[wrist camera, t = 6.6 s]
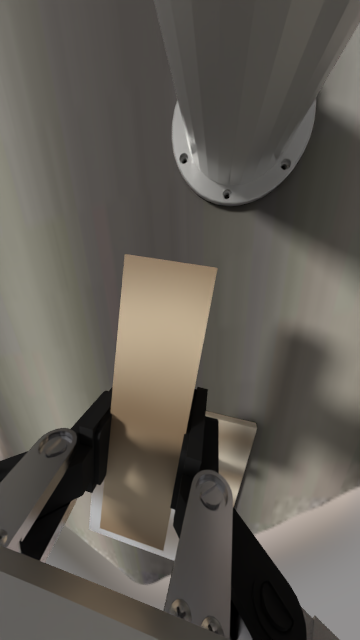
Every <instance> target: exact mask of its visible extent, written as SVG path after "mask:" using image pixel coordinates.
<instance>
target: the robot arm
mask: <svg viewBox="0 0 360 640" xmlns="http://www.w3.org/2000/svg"><path fill="white" fill-rule="evenodd" d="M154 3H155V7H156V11H157V15H158V20H159V24H160V28H161V32H162V36H163V41H164V45H165V49H166V53H167V58H168V62H169V66H170V70H171V74H172V79H173V83H174V87H175V91H176V95H177V103H176V106H175V109H174V115H173V121H172V145H173V152H174V156H175V159H176V162H177V166H178V168H179V170H180V173H181V175H182V177H183V178H184V180H185V181H186V183H187V184H188V186H189V187H190V188H191V189H192V190H193V191H194V192H195V193H196V194H197V195H199V196H200V197H202V198H203V199H205V200H206V201H209V202H212V203H214V204H217V205H224V206H237V205H243V204H247V203H251V202H253V201H256V200H258V199H260V198H262V197H264V196H265V195H267V194H268V193H270V192H271V191H272V190H274V189H275V188H276V187H277V186H278V185H279V184H280V183H281V182H282V181H283V180H284V179H285V178H286V177H287V176H288V175H289V174H290V172H291V171H292V170H293V169H294V167H295V166H296V164H297V163H298V161H299V159H300V158H301V156H302V155H303V153H304V151H305V148H306V146H307V144H308V141H309V139H310V136H311V132H312V129H313V125H314V121H315V111H316V96H317V95H318V93H319V91H320V90H321V88H322V86H323V84H324V83H325V81H326V79H327V78H328V76H329V74H330V72H331V71H332V69H333V67H334V66H335V64H336V62H337V61H338V59H339V57H340V55H341V54H342V52H343V50H344V49H345V47H346V45H347V43H348V42H349V40H350V38H351V37H352V35H353V33H354V31H355V30H356V28H357V26H358V25H359V23H360V0H154ZM185 160H186V161H187V162H186V163H185V164H183V162H184V161H185ZM282 166H284V167H285V170H283V169H282V168H281V167H282ZM225 195H229V198H228V199H225V198H224V196H225ZM112 390H113V387H112V388H111V389H110V391H104V392H103V393H102V394H101V395H100V396H99V398H98V399H97V400H96V401H95V402H94V403H93V404H92V405H91V407H90V408H89V409H88V410H87V411H86V412H85V413H84V414H83V416H82V417H81V418H80V419H79V420H78V421H77V422H76V423H75V425H74V426H73V427H72V428H71V429H68V428H60V429H55V430H52V431H50V432H48V433H46V434H45V435H43V436H42V437H41V438H40V439H39V440H38V441H37V442H36V443H35V444H34V445H33V446H32V448H31V449H30V450H29V451H27V452H24V453H22V454H19V455H16V456H13V457H10V458H8V459H5V460H2V461H0V640H339V639H338V638H337V637H336V636H335V635H334V634H333V633H332V632H331V631H330V630H329V629H328V628H327V627H326V626H325V625H324V624H323V623H322V622H321V621H320V620H319V619H318V618H317V617H316V616H314V617H313V618H311V616H310V615H309V614H308V613H307V612H306V611H305V610H304V609H303V608H302V607H301V606H300V604H299V601H298V599H297V596H296V595H295V593H294V591H293V590H292V588H291V586H290V585H289V583H288V582H287V581H286V579H285V578H284V576H283V575H282V574H281V572H280V571H279V570H278V568H277V567H276V565H275V564H274V563H273V561H272V560H271V558H270V557H269V556H268V555H267V553H266V552H265V550H264V549H263V547H262V546H261V545H260V543H259V542H258V541H257V539H256V538H255V536H254V535H253V534H252V532H251V531H250V529H249V528H248V527H247V525H246V524H245V523H244V521H243V520H242V518H241V517H240V516H239V514H238V513H237V511H236V510H235V509H234V507H233V496H232V491H231V488H230V485H229V484H228V482H227V481H226V479H225V478H224V477H223V476H221V475H220V474H219V421H218V419H215V418H211V417H207V416H205V414H206V402H207V391H208V389H204V388H200V387H197V390H196V389H194V393H193V399H192V404H191V409H190V414H189V420H188V425H187V430H186V434H184V437H183V442H182V447H181V452H180V458H179V463H178V468H177V474H176V479H175V484H174V490H173V495H172V500H171V506H170V508H171V509H174V510H175V513H174V519H173V520H174V521H173V527H174V529H175V531H176V533H177V535H178V538H179V542H178V547H177V551H176V556H175V561H174V565H173V570H172V574H171V579H170V584H169V588H168V593H167V597H166V602H165V606H164V611H162V610H159V609H157V608H155V607H152V606H150V605H147V604H145V603H142V602H140V601H137V600H135V599H132V598H130V597H128V596H125V595H123V594H120V593H118V592H115V591H113V590H111V589H108V588H106V587H103V586H101V585H98V584H96V583H93V582H91V581H88V580H86V579H83V578H81V577H78V576H76V575H73V574H71V573H68V572H66V571H64V570H61V569H58V568H56V567H54V566H51V565H49V564H46V563H45V562H46V560H47V558H48V556H49V554H50V552H51V550H52V548H53V546H54V544H55V542H56V540H57V539H58V537H59V535H60V533H61V531H62V529H63V526H64V525H65V523H66V521H67V519H68V517H69V515H70V513H71V511H72V509H73V507H74V505H75V503H76V500H77V498H78V497H80V496H82V495H83V494H84V492H85V491H88V492H90V493H93V491H94V489H95V487H96V486H97V485H101V484H102V482H103V480H104V478H105V476H106V473H107V462H108V451H109V441H110V430H111V419H112V414H110V412H111V401H112Z"/></svg>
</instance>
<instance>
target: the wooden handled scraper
mask: <svg viewBox="0 0 360 640" xmlns="http://www.w3.org/2000/svg"><path fill="white" fill-rule="evenodd" d="M216 273H217V268H214V267H207V266H201V265H194V264H187V263H181V262H174V261H167V260H161V259H154V258H147V257H140V256H134V255H127V254H125V259H124V270H123V280H122V291H121V302H120V313H119V324H118V335H117V346H116V357H115V368H114V379H113V390H112V401H111V412H110V414H112V419H111V430H110V441H109V451H108V462H107V473H106V476H105V478H104V480H103V482H102V484H101V485H97V486H96V487H95V489H94V491H93V493H92V496H91V509H90V523H89V530H92V531H94V532H97V533H100V534H103V535H105V536H108V537H111V538H114V539H116V540H119V541H122V542H125V543H127V544H130V545H133V546H136V547H138V548H141V549H144V550H147V551H149V552H152V553H155V554H157V555H160V556H163V557H166V558H168V559H171V560H174V561H175V556H176V551H177V547H178V542H179V538H178V535H177V533H176V531H175V529H174V527H173V521H174V520H173V519H174V513H175V510H174V509H171V508H170V506H171V500H172V495H173V490H174V484H175V479H176V474H177V468H178V463H179V458H180V452H181V447H182V442H183V437H184V434H186V430H187V425H188V420H189V414H190V409H191V404H192V399H193V393H194V388H195V383H196V378H197V372H198V367H199V362H200V357H201V352H202V346H203V341H204V336H205V331H206V325H207V320H208V315H209V310H210V304H211V299H212V294H213V289H214V284H215V278H216Z"/></svg>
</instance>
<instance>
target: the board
mask: <svg viewBox="0 0 360 640" xmlns="http://www.w3.org/2000/svg"><path fill="white" fill-rule="evenodd" d="M205 416H207V417H211V418H215V419H218V421H219V474H220V475H221V476H223V477H224V478H225V479H226V481H227V482H228V484H229V485H230V488H231V491H232V496H233V507H234V504H235V501H236V498H237V494H238V491H239V487H240V484H241V481H242V477H243V474H244V471H245V467H246V464H247V461H248V457H249V454H250V451H251V447H252V444H253V441H254V437H255V434H256V431H257V426H256V423H254V422H250V421H246V420H242V419H237V418H233V417H229V416H225V415H221V414H216V413H212V412H208V411H206V414H205Z"/></svg>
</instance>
